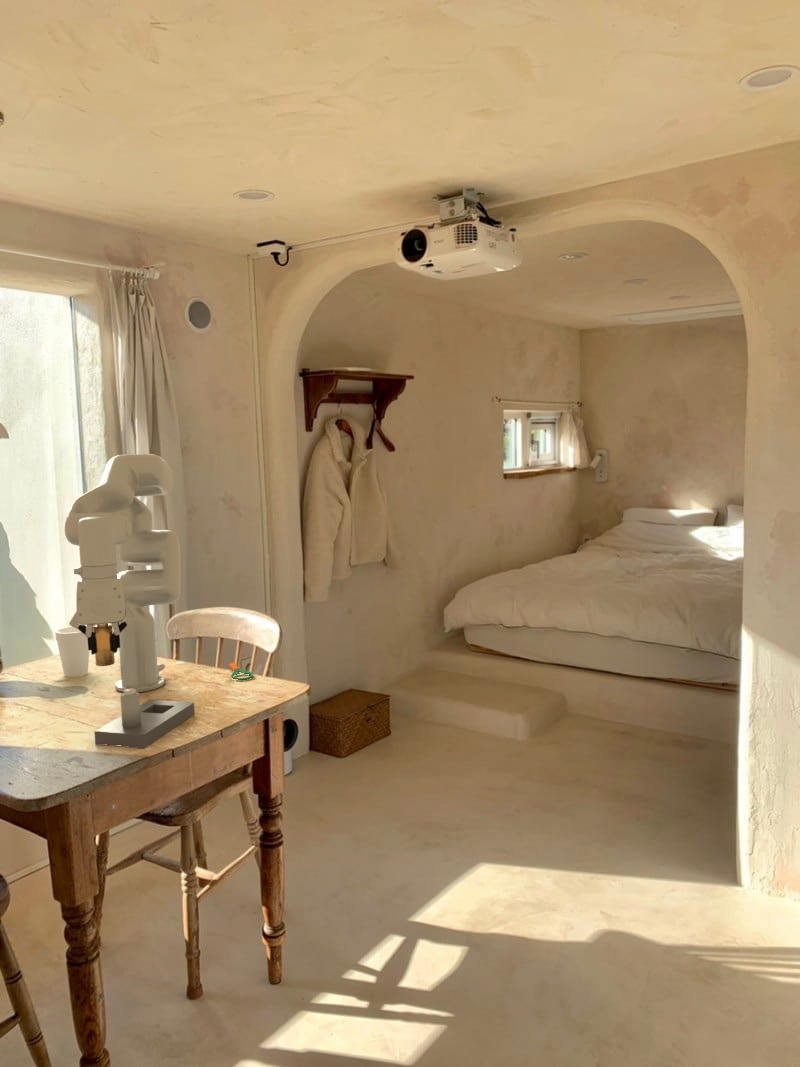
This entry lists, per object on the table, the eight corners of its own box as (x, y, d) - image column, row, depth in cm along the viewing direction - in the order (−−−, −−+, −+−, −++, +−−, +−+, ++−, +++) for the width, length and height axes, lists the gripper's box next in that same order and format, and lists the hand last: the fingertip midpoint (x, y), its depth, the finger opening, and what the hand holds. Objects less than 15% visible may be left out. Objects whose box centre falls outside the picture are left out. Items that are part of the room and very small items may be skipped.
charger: (150, 711, 199) (147, 667, 198) (194, 714, 196) (192, 670, 195) (95, 744, 178) (92, 695, 177) (144, 748, 175) (141, 698, 174)
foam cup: (51, 677, 230) (47, 632, 228) (73, 668, 239) (70, 625, 237) (79, 679, 227) (76, 634, 226) (100, 670, 236) (97, 626, 234)
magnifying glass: (256, 680, 224) (255, 674, 224) (234, 683, 222) (233, 677, 221) (242, 667, 238) (242, 661, 238) (222, 669, 235) (221, 664, 235)
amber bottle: (103, 660, 186) (100, 617, 185) (118, 661, 185) (115, 618, 184) (92, 665, 182) (88, 621, 181) (107, 666, 181) (104, 622, 180)
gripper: (56, 577, 175) (62, 660, 178) (137, 572, 179) (142, 653, 182) (61, 571, 182) (67, 650, 185) (139, 567, 186) (144, 644, 189)
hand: (104, 651), depth 183 cm, fingers closed on amber bottle, 4 cm apart
